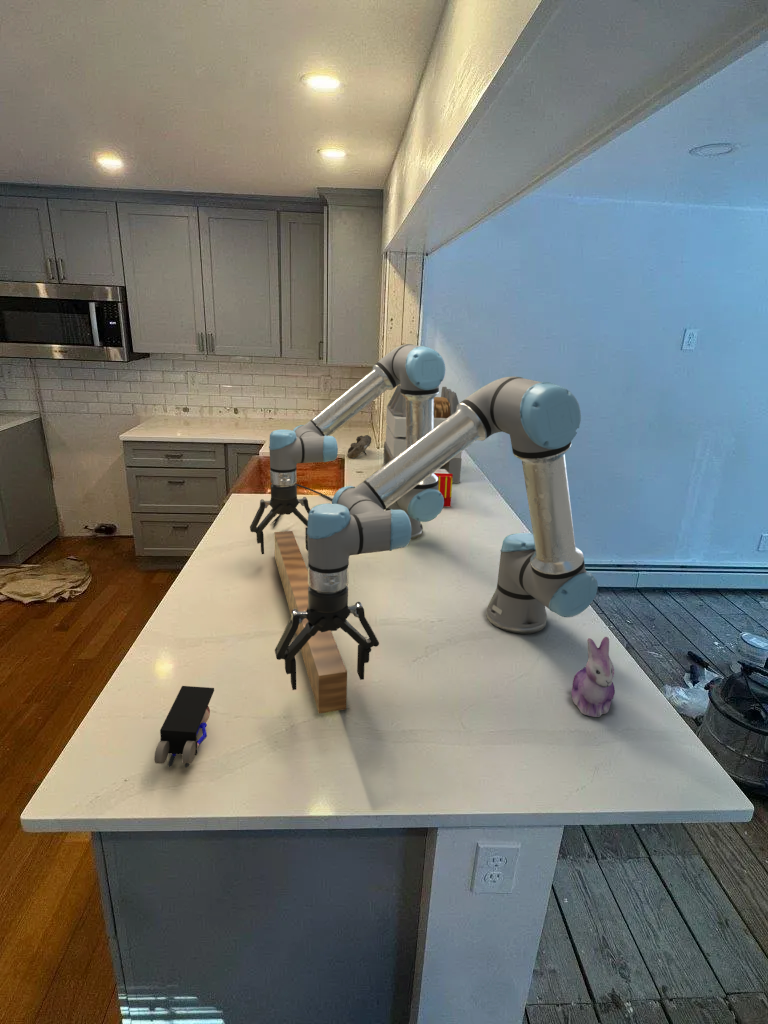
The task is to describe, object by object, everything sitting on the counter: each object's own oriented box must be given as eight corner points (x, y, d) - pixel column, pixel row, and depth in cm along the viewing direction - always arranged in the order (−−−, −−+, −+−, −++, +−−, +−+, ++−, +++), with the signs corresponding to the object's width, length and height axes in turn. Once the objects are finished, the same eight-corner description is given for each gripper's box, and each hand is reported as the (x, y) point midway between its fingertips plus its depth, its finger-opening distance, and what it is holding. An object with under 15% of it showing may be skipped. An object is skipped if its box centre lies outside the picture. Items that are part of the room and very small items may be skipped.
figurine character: (196, 782, 95) (218, 713, 108) (191, 750, 92) (215, 683, 105) (155, 781, 95) (183, 712, 108) (149, 749, 91) (178, 682, 105)
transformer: (382, 463, 289) (386, 382, 275) (445, 464, 293) (451, 384, 279) (390, 482, 257) (394, 392, 243) (460, 483, 261) (468, 394, 247)
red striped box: (446, 465, 254) (456, 474, 224) (444, 494, 256) (454, 507, 227) (419, 464, 253) (426, 473, 224) (418, 493, 256) (424, 507, 227)
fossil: (347, 441, 314) (368, 426, 309) (358, 454, 317) (379, 439, 312) (341, 455, 294) (363, 439, 289) (352, 469, 297) (375, 453, 292)
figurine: (594, 725, 110) (608, 660, 105) (557, 694, 119) (568, 632, 114) (628, 712, 114) (643, 648, 109) (590, 683, 123) (602, 622, 118)
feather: (289, 506, 225) (292, 502, 225) (272, 529, 199) (275, 525, 198) (286, 503, 225) (288, 500, 225) (268, 527, 199) (271, 522, 198)
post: (274, 558, 177) (274, 531, 174) (292, 556, 178) (292, 530, 175) (318, 713, 110) (318, 675, 107) (346, 709, 112) (347, 671, 109)
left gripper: (240, 489, 158) (243, 559, 165) (328, 485, 165) (328, 552, 172) (238, 482, 165) (242, 548, 172) (323, 478, 172) (323, 542, 179)
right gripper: (262, 602, 99) (266, 702, 107) (397, 588, 106) (392, 682, 114) (258, 583, 106) (262, 678, 113) (386, 570, 113) (381, 661, 120)
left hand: (285, 550), depth 172 cm, fingers open, 13 cm apart
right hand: (327, 680), depth 113 cm, fingers open, 13 cm apart
